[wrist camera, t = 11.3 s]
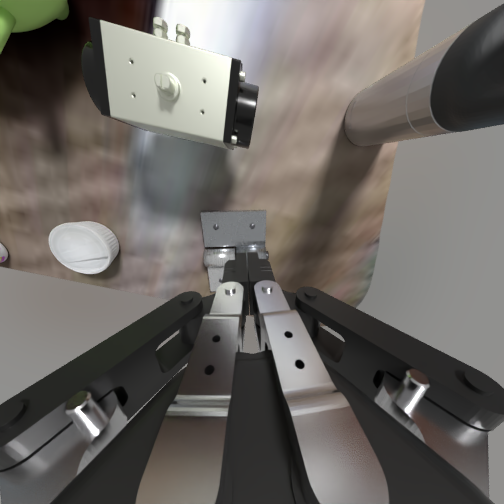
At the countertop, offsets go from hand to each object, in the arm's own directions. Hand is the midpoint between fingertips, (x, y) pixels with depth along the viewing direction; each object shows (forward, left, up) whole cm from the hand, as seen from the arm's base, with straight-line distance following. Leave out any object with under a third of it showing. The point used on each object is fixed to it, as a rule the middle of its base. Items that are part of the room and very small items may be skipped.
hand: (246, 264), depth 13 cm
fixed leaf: (+2, +9, -29) cm, 30 cm away
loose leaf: (+2, +17, -29) cm, 34 cm away
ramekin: (+33, +9, -29) cm, 45 cm away
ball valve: (+7, -14, -29) cm, 33 cm away
